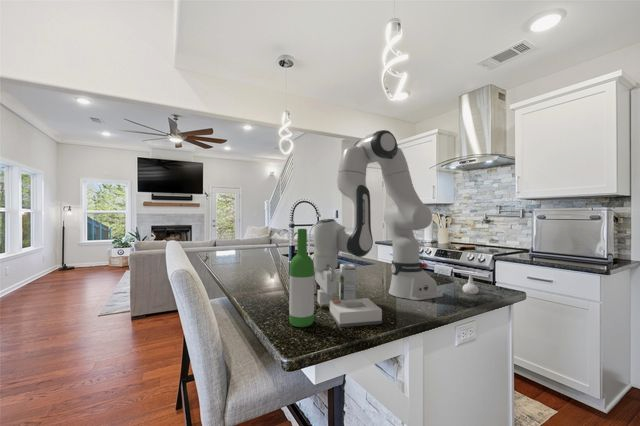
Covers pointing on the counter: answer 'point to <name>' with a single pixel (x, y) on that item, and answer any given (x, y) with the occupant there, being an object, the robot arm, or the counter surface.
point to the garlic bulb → (470, 287)
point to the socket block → (355, 312)
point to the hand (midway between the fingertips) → (325, 299)
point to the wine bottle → (301, 285)
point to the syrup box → (347, 282)
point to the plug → (321, 298)
